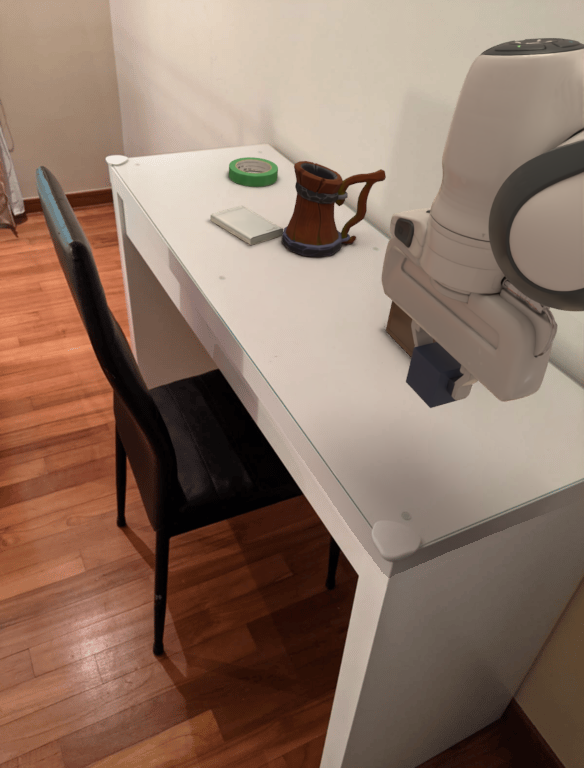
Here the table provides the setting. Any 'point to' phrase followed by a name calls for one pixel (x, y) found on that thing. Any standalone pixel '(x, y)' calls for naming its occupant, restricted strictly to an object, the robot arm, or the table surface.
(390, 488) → the table surface
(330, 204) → the mug
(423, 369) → the block
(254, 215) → the hard drive
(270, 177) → the tape roll
